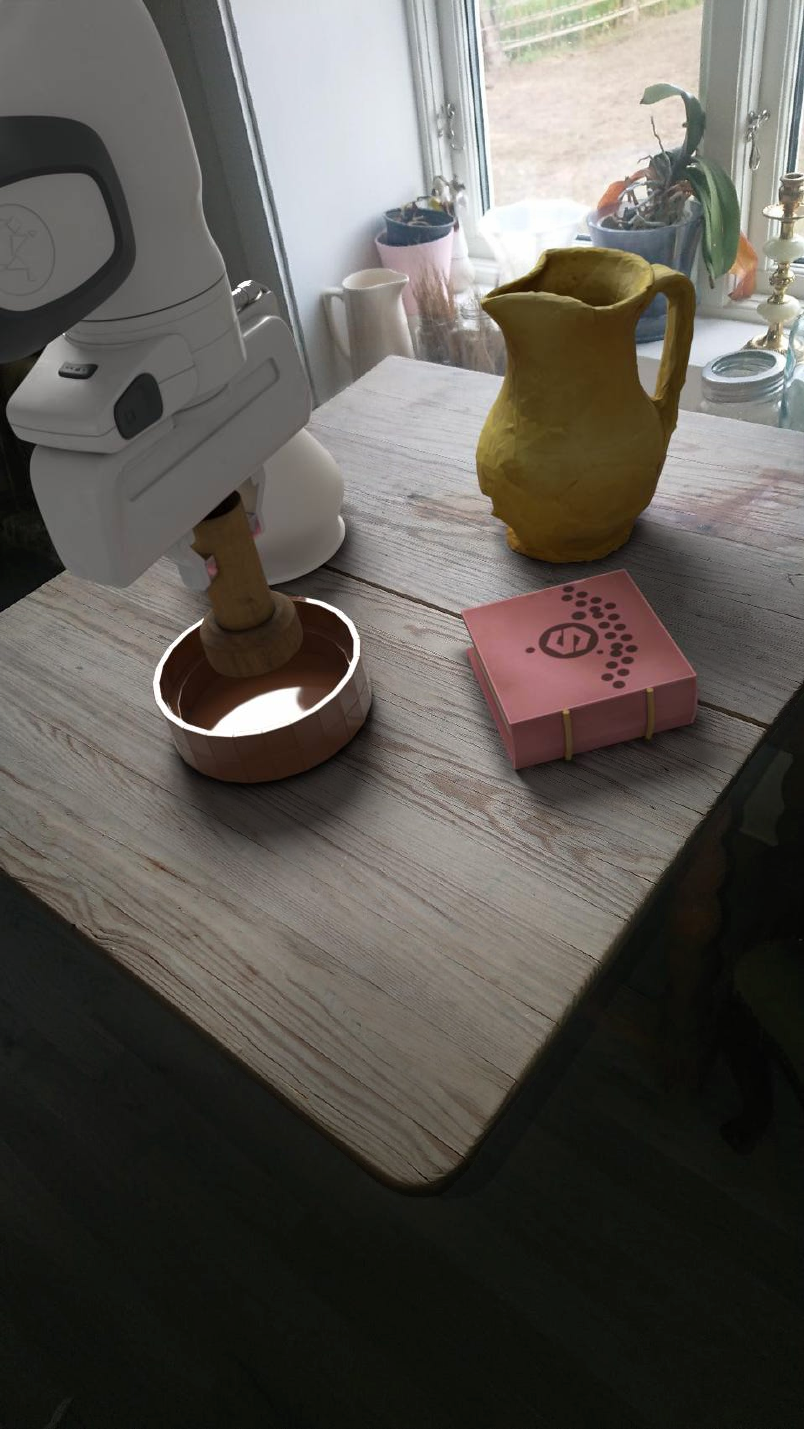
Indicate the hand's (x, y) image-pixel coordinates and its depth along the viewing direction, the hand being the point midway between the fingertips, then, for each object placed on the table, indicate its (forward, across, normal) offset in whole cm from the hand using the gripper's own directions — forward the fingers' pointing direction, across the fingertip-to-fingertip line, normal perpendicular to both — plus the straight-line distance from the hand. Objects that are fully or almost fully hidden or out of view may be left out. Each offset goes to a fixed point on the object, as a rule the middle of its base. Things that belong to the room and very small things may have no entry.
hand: (226, 559), depth 61 cm
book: (+22, -18, +16) cm, 33 cm away
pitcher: (+22, -40, +8) cm, 46 cm away
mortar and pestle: (+7, 0, 0) cm, 7 cm away
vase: (+22, -30, -22) cm, 43 cm away
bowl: (+22, -7, -8) cm, 25 cm away
